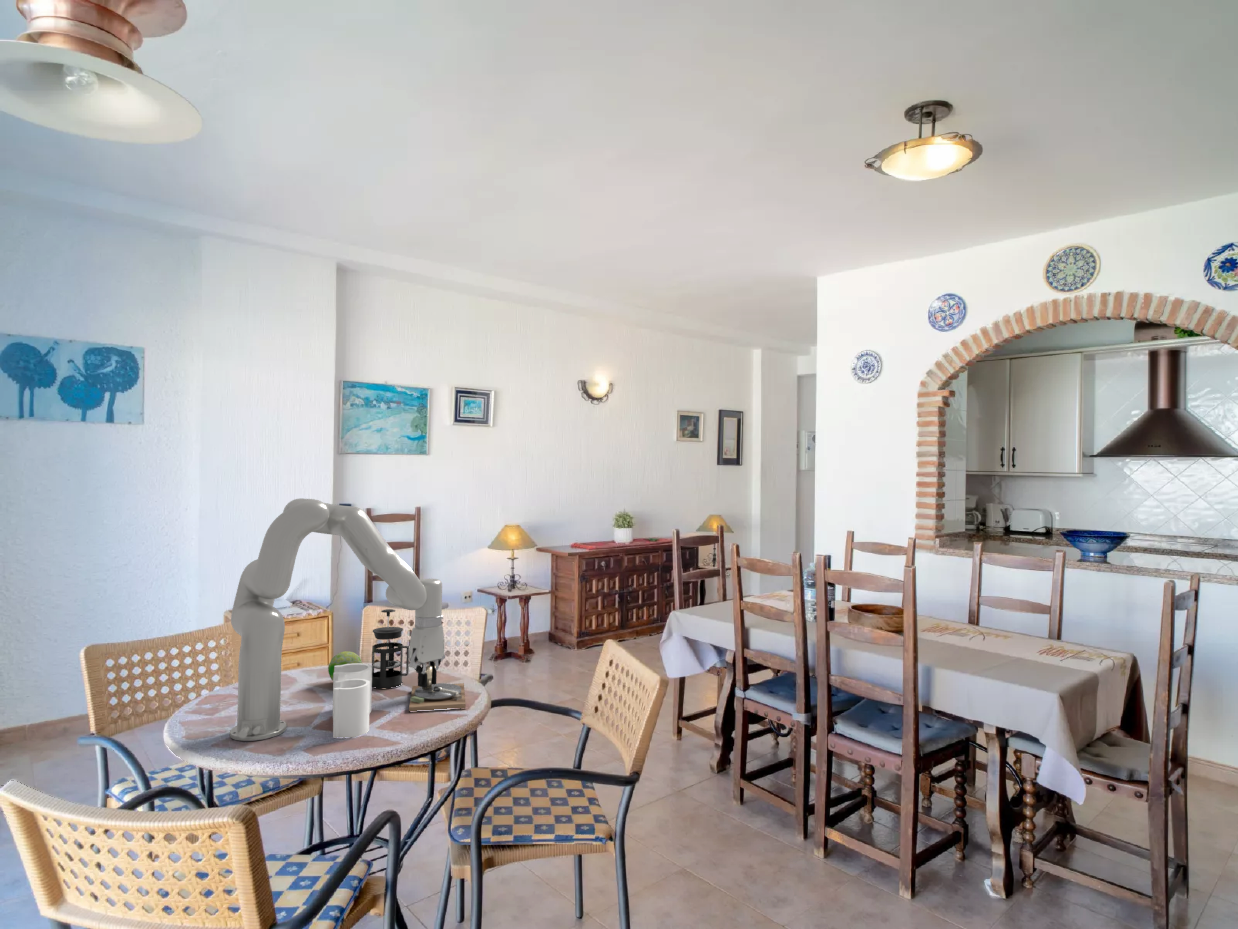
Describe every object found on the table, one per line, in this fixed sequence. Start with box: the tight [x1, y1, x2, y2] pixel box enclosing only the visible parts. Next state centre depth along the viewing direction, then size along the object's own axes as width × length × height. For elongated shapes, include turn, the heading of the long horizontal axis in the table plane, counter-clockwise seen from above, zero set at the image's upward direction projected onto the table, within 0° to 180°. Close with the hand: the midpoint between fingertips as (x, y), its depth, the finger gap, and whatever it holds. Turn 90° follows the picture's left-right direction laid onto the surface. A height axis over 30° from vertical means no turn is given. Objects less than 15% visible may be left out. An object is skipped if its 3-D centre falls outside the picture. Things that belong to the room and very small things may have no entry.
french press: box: [371, 608, 410, 689], centre depth 217 cm, size 12×9×23 cm
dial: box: [415, 664, 461, 701], centre depth 202 cm, size 14×13×7 cm
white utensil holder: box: [332, 662, 373, 739], centre depth 184 cm, size 25×10×12 cm, turn 20°
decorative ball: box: [327, 651, 363, 681], centre depth 216 cm, size 10×10×10 cm
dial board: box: [408, 682, 467, 712], centre depth 202 cm, size 20×15×2 cm
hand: (427, 684), depth 205 cm, fingers closed on dial, 2 cm apart
